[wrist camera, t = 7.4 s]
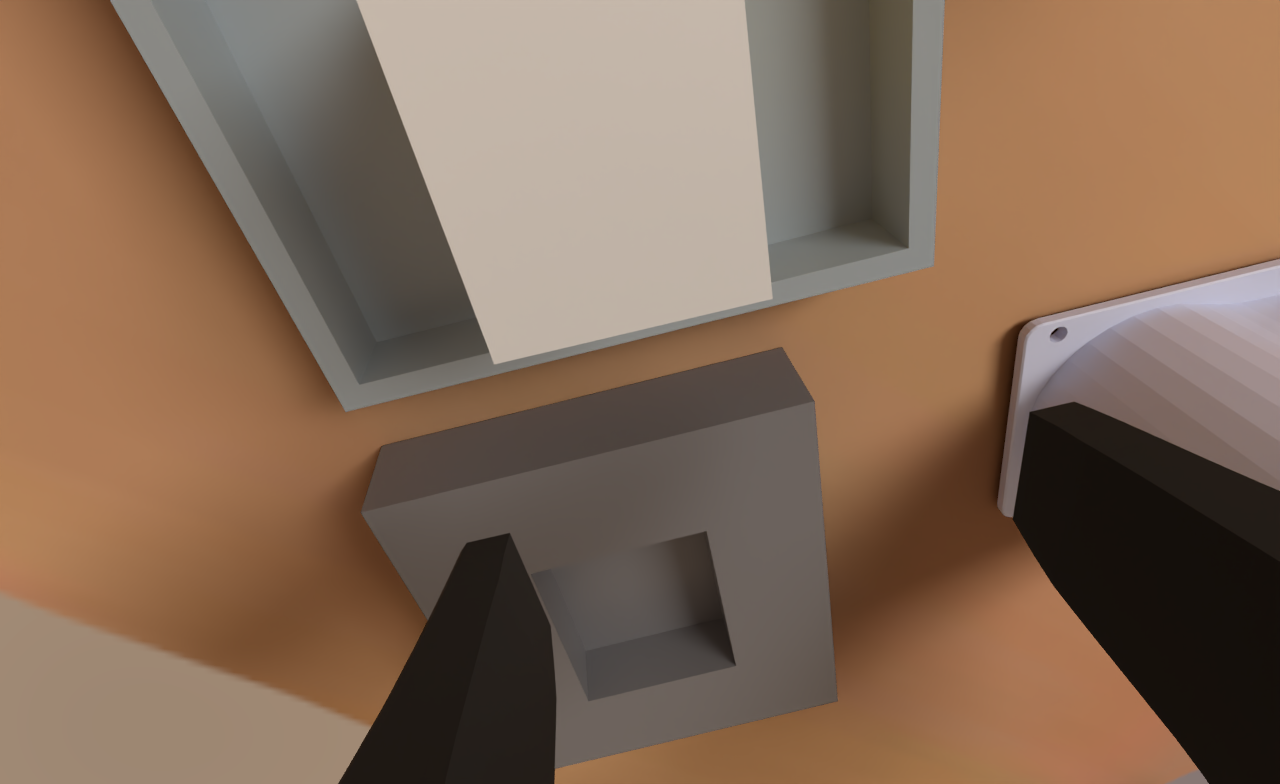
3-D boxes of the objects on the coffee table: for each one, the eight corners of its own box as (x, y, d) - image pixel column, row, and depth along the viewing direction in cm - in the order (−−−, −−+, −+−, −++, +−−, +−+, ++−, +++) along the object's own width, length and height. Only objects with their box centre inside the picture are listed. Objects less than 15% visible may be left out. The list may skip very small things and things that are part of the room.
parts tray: (878, -463, 11) (968, -570, 9) (882, 224, 18) (934, 266, 16) (62, -247, 11) (-61, -297, 9) (370, 351, 18) (345, 412, 16)
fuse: (637, -138, 12) (724, -213, 7) (684, 165, 16) (772, 298, 10) (420, -86, 12) (312, -115, 7) (511, 206, 16) (494, 364, 10)
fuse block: (781, 347, 20) (814, 401, 17) (812, 637, 27) (837, 701, 25) (381, 446, 20) (360, 512, 17) (525, 706, 28) (524, 776, 25)
